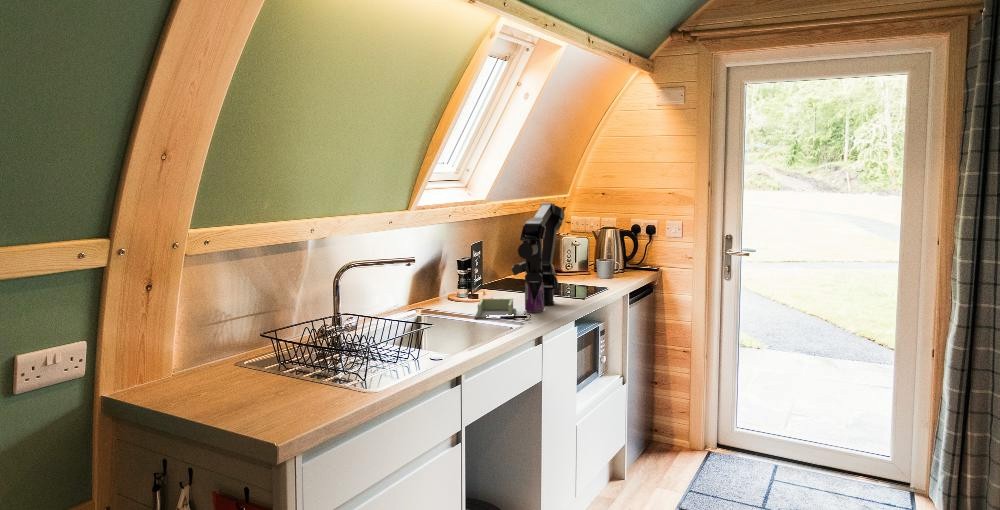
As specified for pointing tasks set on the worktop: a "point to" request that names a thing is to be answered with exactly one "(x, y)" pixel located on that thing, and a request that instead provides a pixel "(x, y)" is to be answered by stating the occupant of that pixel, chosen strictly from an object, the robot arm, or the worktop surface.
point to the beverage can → (537, 303)
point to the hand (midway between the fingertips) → (534, 296)
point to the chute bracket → (494, 307)
